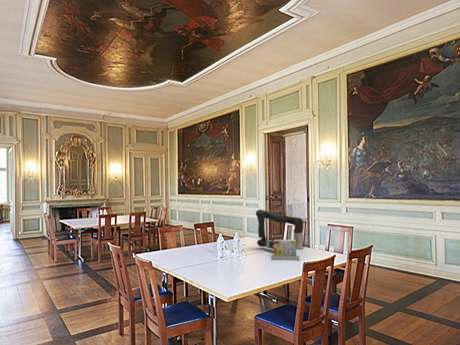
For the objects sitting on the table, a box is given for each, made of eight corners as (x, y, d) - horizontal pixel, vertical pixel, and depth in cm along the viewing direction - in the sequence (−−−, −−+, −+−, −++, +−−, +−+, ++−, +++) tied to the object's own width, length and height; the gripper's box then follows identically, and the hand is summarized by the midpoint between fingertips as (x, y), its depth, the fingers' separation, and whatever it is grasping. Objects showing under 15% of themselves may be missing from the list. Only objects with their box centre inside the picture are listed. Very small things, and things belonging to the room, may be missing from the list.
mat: (271, 256, 311) (271, 255, 311) (298, 256, 307) (298, 256, 307) (271, 259, 295) (271, 259, 295) (299, 260, 291) (299, 260, 291)
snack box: (295, 255, 314) (295, 239, 315) (296, 256, 309) (296, 240, 309) (273, 254, 316) (273, 239, 317) (274, 256, 311) (273, 240, 312)
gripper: (266, 241, 330) (277, 244, 316) (276, 240, 337) (287, 242, 322) (266, 248, 330) (277, 251, 315) (276, 247, 337) (287, 250, 322)
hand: (282, 247), depth 319 cm, fingers closed
